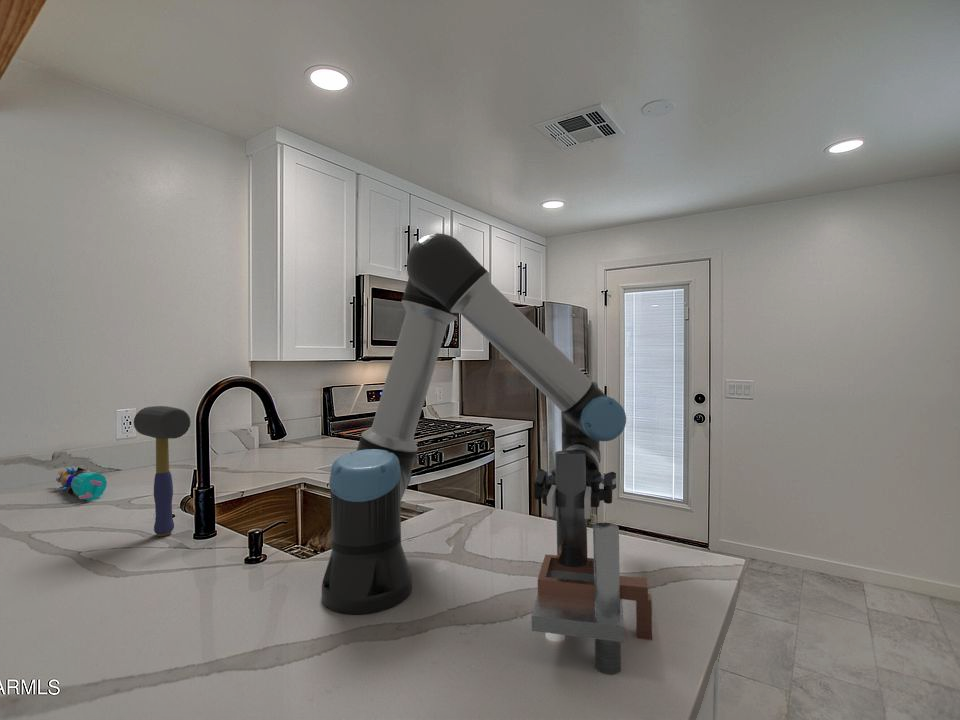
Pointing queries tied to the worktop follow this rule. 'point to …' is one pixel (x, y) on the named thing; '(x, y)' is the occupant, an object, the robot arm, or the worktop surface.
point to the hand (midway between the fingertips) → (568, 507)
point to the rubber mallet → (162, 456)
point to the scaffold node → (592, 599)
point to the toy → (82, 483)
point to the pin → (571, 508)
